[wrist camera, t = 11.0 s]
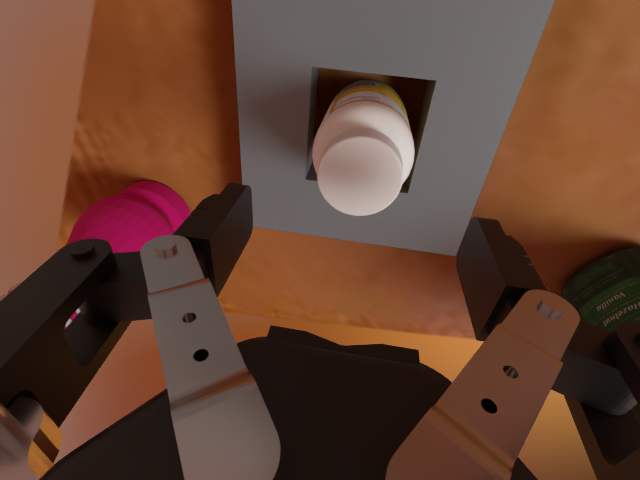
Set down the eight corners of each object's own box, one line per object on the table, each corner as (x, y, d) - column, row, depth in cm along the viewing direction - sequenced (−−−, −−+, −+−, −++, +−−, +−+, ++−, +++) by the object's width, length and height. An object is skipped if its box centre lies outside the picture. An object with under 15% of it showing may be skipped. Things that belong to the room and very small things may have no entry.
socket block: (247, -37, 20) (229, -42, 17) (536, -11, 18) (560, -13, 16) (256, 206, 29) (244, 225, 26) (449, 233, 28) (455, 256, 25)
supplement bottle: (370, 172, 26) (365, 247, 18) (312, 127, 24) (279, 186, 17) (423, 114, 23) (446, 172, 15) (361, 59, 22) (350, 91, 14)
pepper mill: (115, 163, 28) (-238, 378, 12) (200, 189, 29) (-35, 433, 12) (122, 232, 33) (-133, 460, 16) (196, 253, 33) (16, 500, 17)
